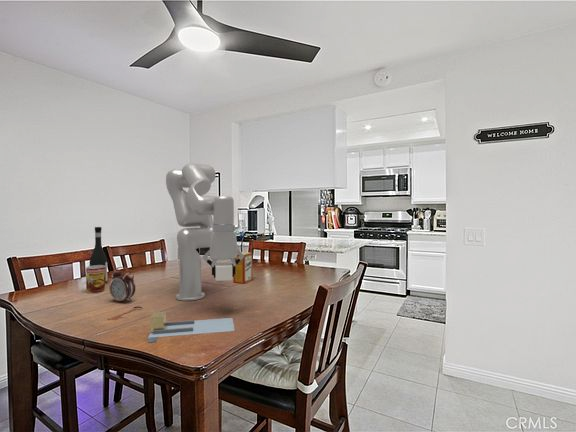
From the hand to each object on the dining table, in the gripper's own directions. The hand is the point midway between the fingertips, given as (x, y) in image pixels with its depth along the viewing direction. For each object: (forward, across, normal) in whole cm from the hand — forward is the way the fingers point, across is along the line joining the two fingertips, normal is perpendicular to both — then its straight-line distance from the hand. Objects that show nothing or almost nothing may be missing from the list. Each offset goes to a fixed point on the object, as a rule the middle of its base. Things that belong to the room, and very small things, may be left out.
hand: (223, 276), depth 119 cm
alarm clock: (+15, +42, -27) cm, 52 cm away
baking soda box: (+15, -12, -53) cm, 57 cm away
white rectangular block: (+1, 0, 0) cm, 1 cm away
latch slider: (+13, +21, +13) cm, 28 cm away
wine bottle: (+15, +63, -63) cm, 91 cm away
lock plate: (+15, +10, +13) cm, 22 cm away
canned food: (+15, +59, -47) cm, 77 cm away
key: (+16, +36, -10) cm, 41 cm away
